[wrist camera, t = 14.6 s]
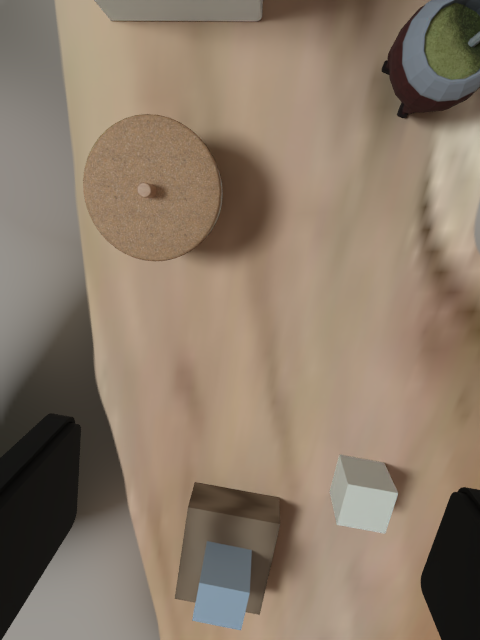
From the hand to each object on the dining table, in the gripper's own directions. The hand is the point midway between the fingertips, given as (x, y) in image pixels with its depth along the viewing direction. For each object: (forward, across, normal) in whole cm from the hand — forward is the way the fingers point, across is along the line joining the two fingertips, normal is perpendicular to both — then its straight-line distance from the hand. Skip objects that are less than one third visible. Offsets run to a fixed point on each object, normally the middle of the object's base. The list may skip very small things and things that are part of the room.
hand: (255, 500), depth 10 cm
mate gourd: (+31, -10, -20) cm, 38 cm away
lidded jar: (+31, +10, -7) cm, 33 cm away
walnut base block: (+30, -1, +31) cm, 43 cm away
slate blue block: (+26, -1, +31) cm, 41 cm away
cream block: (+30, -14, +20) cm, 39 cm away
